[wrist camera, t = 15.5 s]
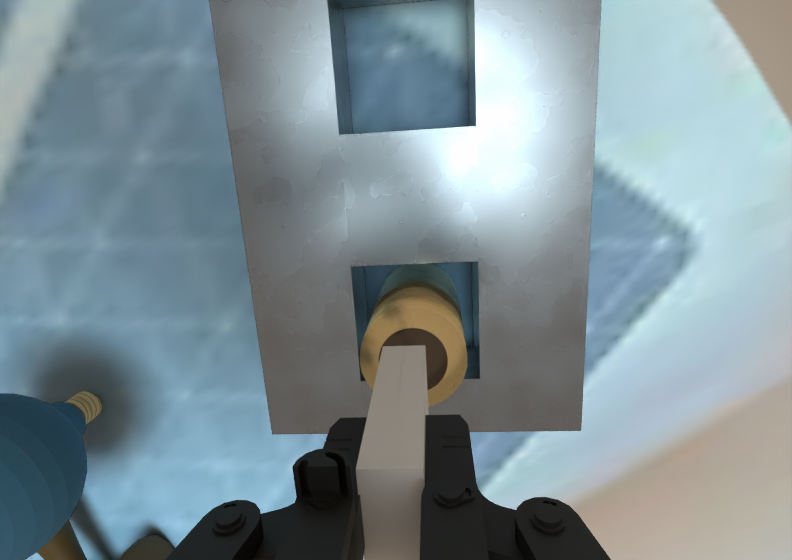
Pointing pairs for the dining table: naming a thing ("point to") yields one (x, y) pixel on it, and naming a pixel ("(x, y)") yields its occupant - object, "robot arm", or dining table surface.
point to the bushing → (419, 326)
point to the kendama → (142, 556)
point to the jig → (416, 205)
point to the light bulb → (40, 468)
